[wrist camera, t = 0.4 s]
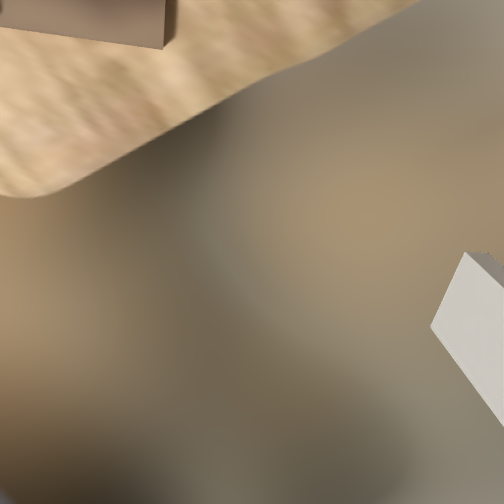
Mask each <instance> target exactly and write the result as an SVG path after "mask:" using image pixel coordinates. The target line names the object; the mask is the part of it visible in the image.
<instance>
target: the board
mask: <svg viewBox="0 0 504 504" xmlns="http://www.w3.org/2000/svg"><path fill="white" fill-rule="evenodd" d="M165 3H166V0H0V27H5V28H12V29H19V30H26V31H33V32H40V33H47V34H54V35H61V36H69V37H76V38H83V39H90V40H97V41H104V42H111V43H118V44H125V45H132V46H139V47H146V48H153V49H160V50H163V43H164V23H165Z"/></svg>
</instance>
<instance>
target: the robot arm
mask: <svg viewBox="0 0 504 504" xmlns="http://www.w3.org/2000/svg"><path fill="white" fill-rule="evenodd" d="M431 329H432V330H433V331H434V333H435V334H436V336H437V337H438V338H439V340H440V341H441V342H442V344H443V345H444V346H445V348H446V349H447V350H448V352H449V353H450V355H451V356H452V357H453V359H454V360H455V361H456V363H457V364H458V365H459V367H460V368H461V369H462V371H463V372H464V373H465V375H466V376H467V377H468V379H469V380H470V382H471V383H472V384H473V386H474V387H475V388H476V390H477V391H478V392H479V394H480V395H481V397H482V398H483V399H484V401H485V402H486V403H487V405H488V406H489V407H490V409H491V410H492V411H493V413H494V414H495V415H496V417H497V418H498V420H499V421H500V422H501V424H502V425H503V426H504V266H503V265H502V264H501V263H500V262H498V261H497V260H496V259H495V258H494V257H493V256H492V255H490V254H489V253H481V252H465V253H464V255H463V257H462V259H461V261H460V264H459V266H458V268H457V270H456V272H455V274H454V277H453V279H452V281H451V283H450V285H449V287H448V290H447V292H446V294H445V296H444V298H443V300H442V303H441V305H440V307H439V309H438V311H437V313H436V316H435V318H434V320H433V322H432V324H431Z"/></svg>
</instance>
